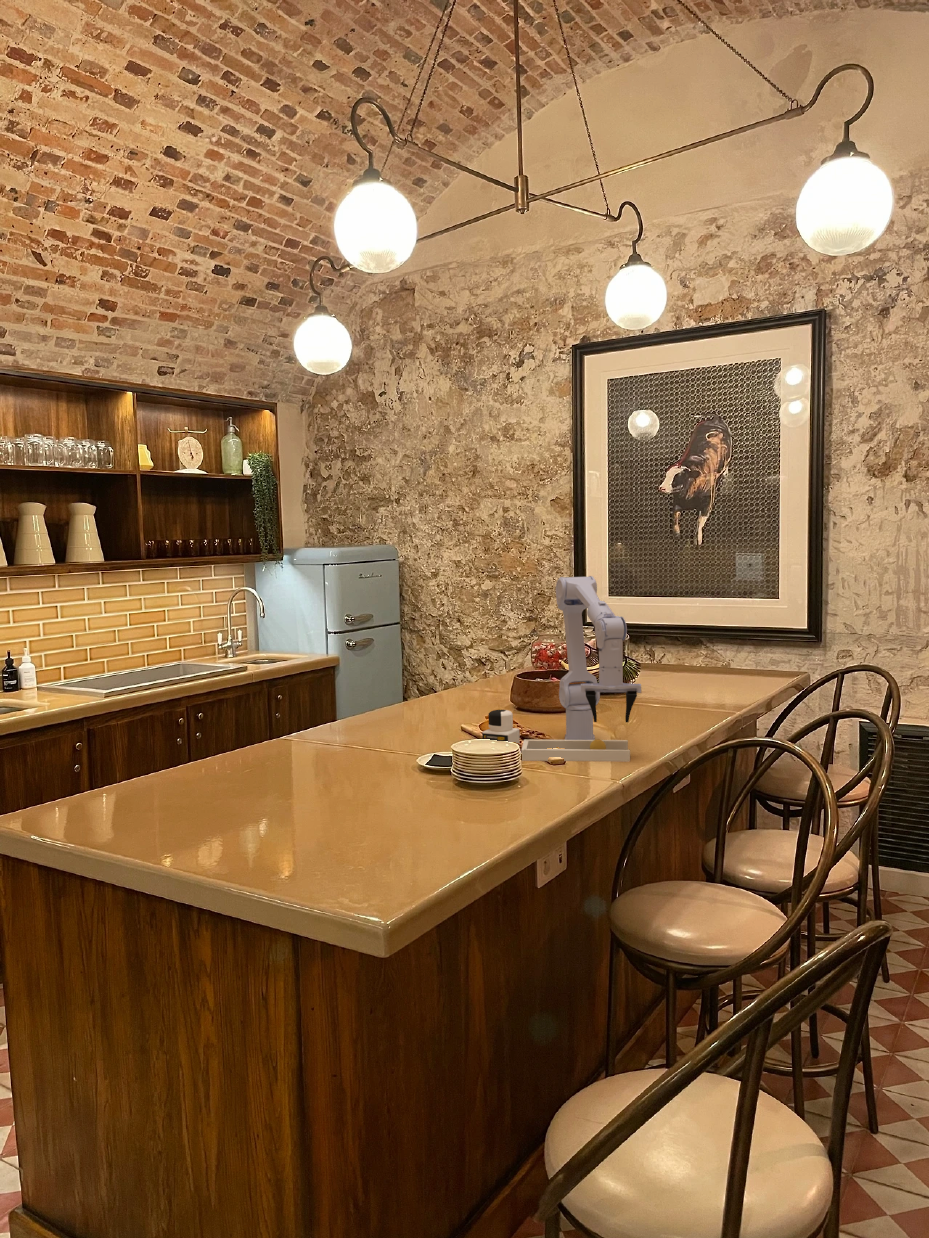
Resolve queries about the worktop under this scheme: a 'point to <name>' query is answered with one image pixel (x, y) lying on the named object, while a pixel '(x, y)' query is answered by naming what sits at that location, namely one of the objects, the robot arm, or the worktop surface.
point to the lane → (575, 750)
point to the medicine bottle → (501, 727)
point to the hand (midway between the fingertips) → (611, 721)
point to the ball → (598, 745)
